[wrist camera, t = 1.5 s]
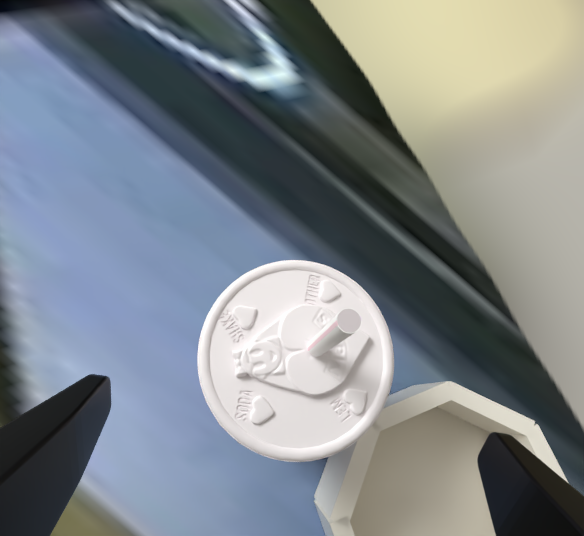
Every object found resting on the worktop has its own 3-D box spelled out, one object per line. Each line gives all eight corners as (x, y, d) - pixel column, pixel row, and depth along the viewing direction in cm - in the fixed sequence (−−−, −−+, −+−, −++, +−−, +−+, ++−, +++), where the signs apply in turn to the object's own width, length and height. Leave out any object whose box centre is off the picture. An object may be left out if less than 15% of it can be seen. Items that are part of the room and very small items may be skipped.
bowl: (558, 567, 19) (632, 606, 16) (373, 676, 17) (408, 751, 13) (460, 365, 22) (503, 357, 19) (291, 435, 20) (301, 442, 16)
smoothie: (346, 422, 21) (516, 453, 8) (227, 451, 20) (186, 544, 6) (319, 308, 23) (417, 176, 10) (210, 328, 22) (151, 211, 8)
